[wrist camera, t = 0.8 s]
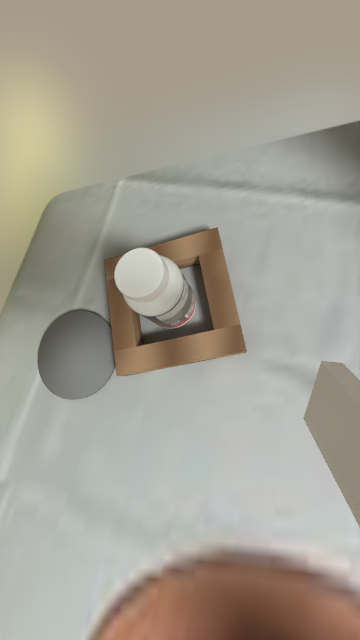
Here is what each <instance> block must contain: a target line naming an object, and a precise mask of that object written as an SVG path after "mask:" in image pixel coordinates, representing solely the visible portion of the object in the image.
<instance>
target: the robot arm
mask: <svg viewBox="0 0 360 640" xmlns="http://www.w3.org/2000/svg"><path fill="white" fill-rule="evenodd" d="M304 420H305V422H306V424H307V426H308V428H309V430H310V432H311V434H312V436H313V438H314V440H315V441H316V443H317V445H318V447H319V449H320V451H321V453H322V455H323V457H324V459H325V461H326V463H327V465H328V467H329V469H330V471H331V472H332V474H333V476H334V478H335V480H336V482H337V484H338V486H339V488H340V490H341V492H342V494H343V496H344V498H345V500H346V502H347V503H348V505H349V507H350V509H351V511H352V513H353V515H354V517H355V519H356V521H357V523H358V525H359V527H360V381H359V379H358V378H357V377H356V376H355V375H354V374H353V373H352V372H351V371H350V370H349V369H348V368H347V367H346V366H345V365H344V364H343V363H337V362H326V361H322V362H321V365H320V368H319V371H318V375H317V378H316V381H315V384H314V387H313V390H312V394H311V397H310V400H309V403H308V406H307V409H306V412H305V416H304Z"/></svg>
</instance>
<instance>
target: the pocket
mask: <svg viewBox="0 0 360 640" xmlns="http://www.w3.org/2000/svg"><path fill="white" fill-rule="evenodd" d="M148 249H151V250H153V251H155V252H156V253H157V254H158V255H161V256H164V257H167V258H169V259H170V260H172V261H173V262H174V263H175V264H176V265H177V266H178V268H179V269H182V268H185V267H189V266H193V265H197V264H200V265H201V270H202V275H203V279H204V284H205V289H206V294H207V299H208V303H209V308H210V313H211V318H212V323H213V327H214V330H211V331H207V332H202V333H197V334H193V335H188V336H184V337H179V338H174V339H170V340H165V341H160V342H156V343H151V344H146V345H143V340H142V333H141V325H140V318H139V314H138V313H136V312H135V311H134V310H133V309H131V308H130V307H129V305H128V304H127V303H126V301H125V299H124V296H123V293H121V292H120V290H119V289H118V287H117V286H116V283H115V279H114V273H115V268H116V265H117V263H118V261H119V260H120V259H121V257H122V256H123V255H120V256H117V257H113V258H110V259H106V260H104V263H105V272H106V281H107V291H108V300H109V309H110V319H111V328H112V338H113V347H114V356H115V366H116V375H117V376H128V375H133V374H138V373H143V372H148V371H153V370H159V369H164V368H169V367H174V366H179V365H184V364H189V363H195V362H200V361H205V360H210V359H215V358H220V357H226V356H231V355H236V354H241V353H246V346H245V342H244V338H243V334H242V330H241V325H240V321H239V317H238V313H237V308H236V304H235V300H234V296H233V291H232V287H231V283H230V279H229V274H228V270H227V266H226V262H225V257H224V253H223V249H222V245H221V241H220V236H219V232H218V228H213V229H210V230H206V231H203V232H199V233H196V234H193V235H189V236H186V237H182V238H179V239H175V240H172V241H168V242H165V243H162V244H158V245H155V246H151V247H148Z"/></svg>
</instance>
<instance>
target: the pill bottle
mask: <svg viewBox="0 0 360 640" xmlns="http://www.w3.org/2000/svg"><path fill="white" fill-rule="evenodd" d="M114 279H115V283H116V286H117V287H118V289H119V290H120V292H121V293H123V296H124V299H125V301H126V303H127V304H128V305H129V307H130V308H131V309H133V310H134V311H135V312H136V313H138V314H140V315H142V316H144V317H146V318H147V319H149V320H151V321H152V322H154V323H156V324H157V325H159V326H161V327H164V328H169V329H174V328H178V327H181V326H183V325H185V324H186V323H187V322H188V321H189V320H190V319H191V318H192V316H193V314H194V312H195V309H196V298H195V295H194V292H193V290H192V289H191V287H190V286H189V284H188V282H187V281H186V279H185V277H184V276H183V274H182V272H181V271H180V269H179V268H178V266H177V265H176V264H175V263H174V262H173V261H172V260H170V259H169V258H167V257H164V256H161V255H158V254H157V253H156V252H155V251H153V250H151V249H148V248H136V249H133V250H131V251H129V252H127V253H126V254H124V255H123V256H122V257H121V259H120V260H119V261H118V263H117V265H116V268H115V273H114Z"/></svg>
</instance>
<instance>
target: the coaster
mask: <svg viewBox="0 0 360 640" xmlns="http://www.w3.org/2000/svg"><path fill="white" fill-rule="evenodd" d="M114 368H115V356H114V347H113V338H112V328H111V326H110V325H109V324H108V322H107V321H106V320H105V319H103V318H102V317H100V316H99V315H97V314H94V313H92V312H88V311H74V312H70V313H67V314H65V315H63V316H62V317H60V318H58V319H57V320H56V321H55V322H54V323H53V324H52V325H51V326H50V327H49V328H48V330H47V331H46V333H45V334H44V336H43V338H42V341H41V343H40V347H39V351H38V369H39V373H40V376H41V379H42V381H43V383H44V384H45V386H46V387H47V388H48V389H49V390H50V391H51V392H52V393H53V394H55V395H57V396H59V397H61V398H65V399H81V398H85V397H88V396H90V395H92V394H94V393H96V392H97V391H98V390H100V389H101V388H102V387H103V386H104V385H105V384H106V382H107V381H108V380H109V378H110V377H111V375H112V373H113V371H114Z"/></svg>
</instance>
